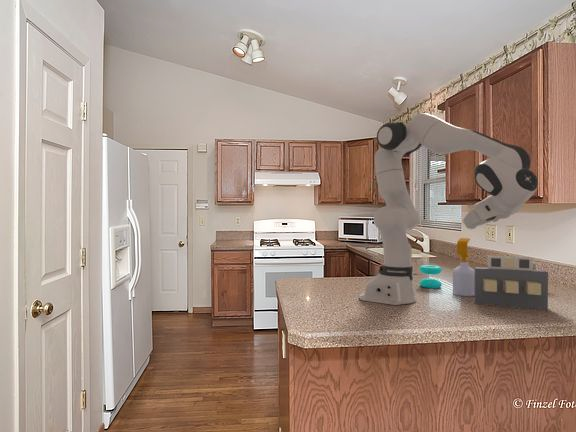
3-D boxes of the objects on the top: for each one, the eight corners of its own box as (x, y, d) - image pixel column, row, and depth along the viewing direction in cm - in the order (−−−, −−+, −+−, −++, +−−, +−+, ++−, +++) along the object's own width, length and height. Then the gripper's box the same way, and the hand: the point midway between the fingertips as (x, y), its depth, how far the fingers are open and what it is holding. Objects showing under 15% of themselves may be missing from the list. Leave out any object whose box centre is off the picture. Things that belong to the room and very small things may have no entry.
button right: (528, 294, 134) (528, 283, 134) (523, 290, 140) (524, 280, 140) (541, 295, 132) (541, 284, 132) (536, 291, 139) (536, 280, 139)
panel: (475, 303, 144) (475, 255, 144) (474, 301, 147) (474, 254, 147) (547, 309, 135) (548, 258, 135) (545, 307, 138) (545, 257, 137)
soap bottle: (478, 294, 161) (478, 238, 160) (471, 297, 154) (471, 239, 154) (456, 291, 167) (457, 237, 167) (449, 294, 160) (449, 238, 160)
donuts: (416, 264, 182) (436, 264, 182) (416, 284, 182) (436, 284, 182) (423, 267, 172) (445, 267, 172) (423, 288, 172) (445, 288, 172)
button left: (484, 291, 139) (485, 280, 139) (482, 287, 146) (482, 277, 146) (496, 291, 138) (497, 281, 138) (494, 288, 144) (494, 278, 144)
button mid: (506, 292, 136) (506, 281, 136) (503, 288, 143) (503, 278, 143) (518, 293, 135) (518, 282, 135) (514, 289, 141) (514, 279, 141)
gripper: (522, 189, 126) (502, 208, 138) (470, 205, 123) (454, 224, 135) (533, 204, 123) (512, 222, 135) (480, 221, 120) (463, 238, 132)
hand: (482, 223), depth 135 cm, fingers open, 8 cm apart
